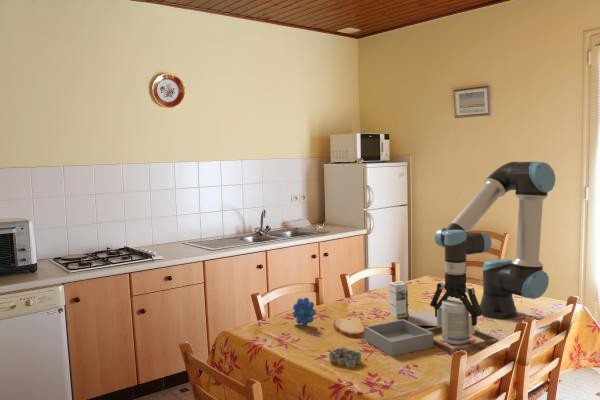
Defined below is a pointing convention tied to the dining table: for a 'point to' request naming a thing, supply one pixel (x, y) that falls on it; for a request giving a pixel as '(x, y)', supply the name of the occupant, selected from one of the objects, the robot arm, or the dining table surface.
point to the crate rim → (468, 348)
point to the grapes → (304, 311)
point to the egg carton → (345, 356)
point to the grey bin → (398, 337)
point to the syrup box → (398, 299)
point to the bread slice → (350, 327)
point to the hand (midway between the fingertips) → (455, 329)
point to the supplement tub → (455, 322)
